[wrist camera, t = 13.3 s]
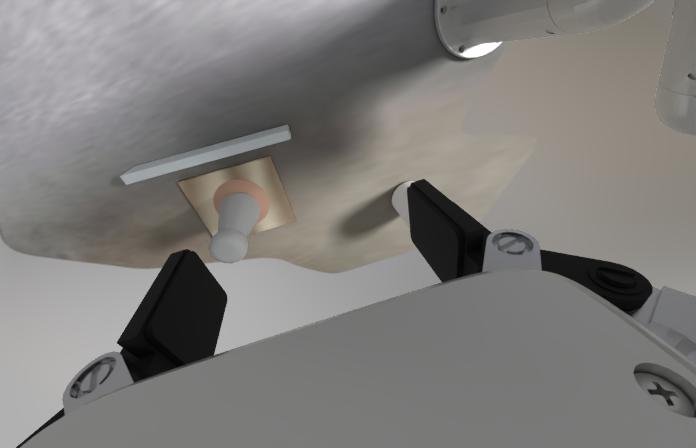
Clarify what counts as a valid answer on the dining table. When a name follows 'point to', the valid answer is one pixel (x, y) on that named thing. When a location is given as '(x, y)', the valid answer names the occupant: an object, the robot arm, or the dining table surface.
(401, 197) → the can
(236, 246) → the salt shaker
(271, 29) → the dining table surface
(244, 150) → the acrylic wall
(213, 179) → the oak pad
